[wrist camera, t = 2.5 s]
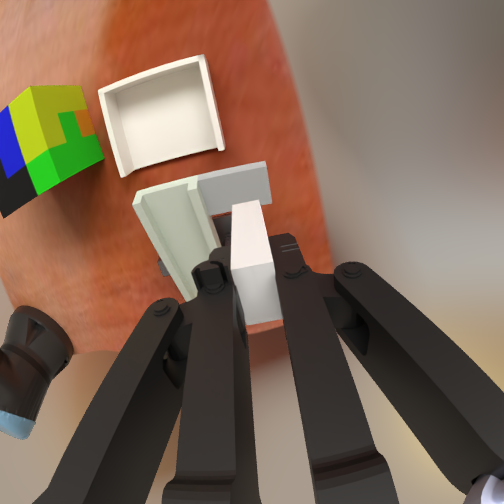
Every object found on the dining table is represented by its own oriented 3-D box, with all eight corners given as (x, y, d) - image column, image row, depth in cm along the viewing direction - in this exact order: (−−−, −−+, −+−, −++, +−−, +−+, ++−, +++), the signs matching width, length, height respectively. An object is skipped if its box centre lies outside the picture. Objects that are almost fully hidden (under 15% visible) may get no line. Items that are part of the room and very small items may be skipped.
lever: (283, 292, 38) (287, 309, 36) (198, 307, 39) (198, 324, 37) (264, 161, 24) (269, 177, 22) (137, 191, 24) (130, 209, 22)
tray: (131, 170, 29) (120, 177, 26) (111, 90, 25) (97, 90, 22) (225, 145, 29) (224, 149, 26) (207, 59, 24) (203, 54, 21)
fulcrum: (245, 256, 36) (247, 276, 32) (171, 270, 36) (164, 290, 32) (235, 212, 33) (235, 228, 29) (156, 229, 33) (146, 247, 29)
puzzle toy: (26, 124, 24) (-25, 138, 16) (80, 85, 24) (30, 86, 15) (48, 188, 29) (3, 218, 21) (104, 158, 29) (60, 182, 20)
